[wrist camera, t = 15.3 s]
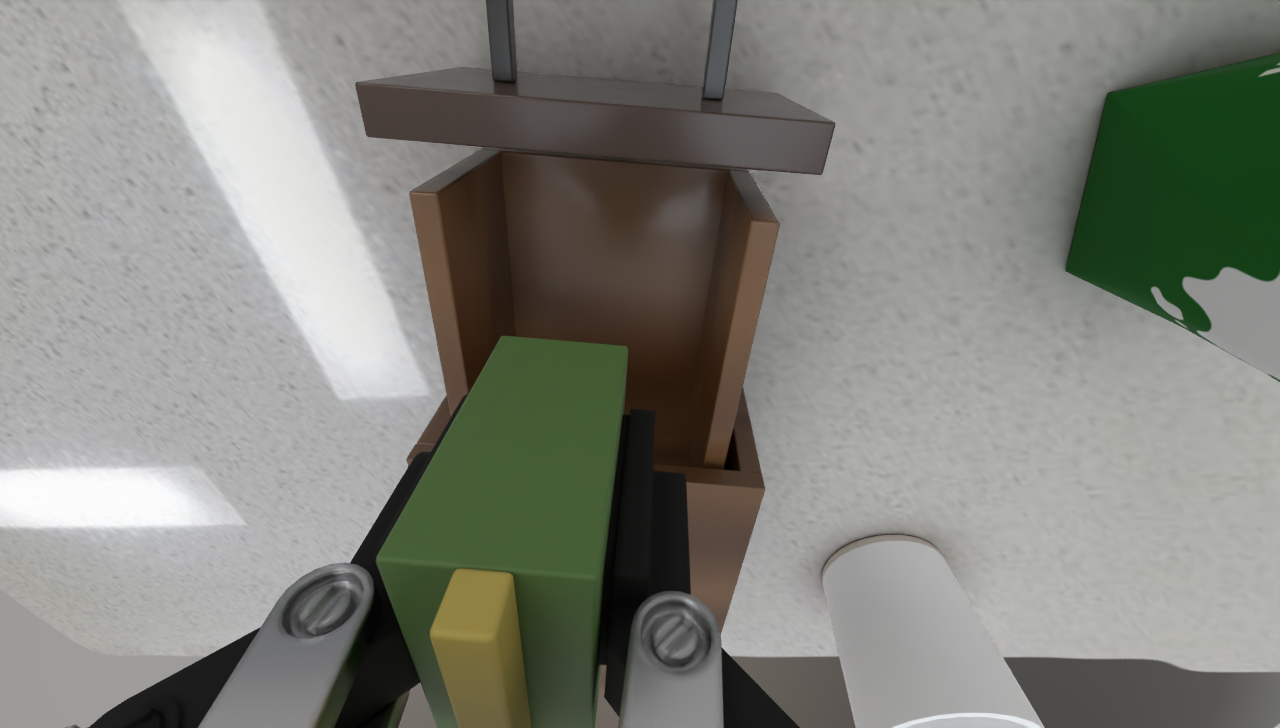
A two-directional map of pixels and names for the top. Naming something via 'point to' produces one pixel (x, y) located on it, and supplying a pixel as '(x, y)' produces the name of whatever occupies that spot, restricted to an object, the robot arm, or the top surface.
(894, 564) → the mug
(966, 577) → the top surface
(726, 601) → the cabinet
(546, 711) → the green sponge
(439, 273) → the drawer
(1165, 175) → the milk carton
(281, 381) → the top surface
